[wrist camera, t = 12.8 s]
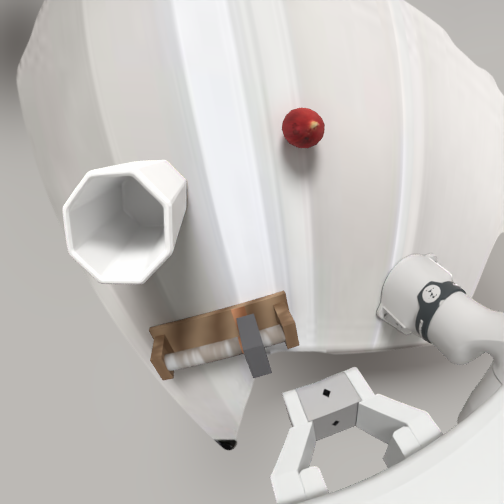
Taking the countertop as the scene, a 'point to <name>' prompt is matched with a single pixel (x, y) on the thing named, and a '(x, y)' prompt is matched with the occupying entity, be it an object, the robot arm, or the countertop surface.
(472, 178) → the countertop surface
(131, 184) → the cup
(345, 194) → the countertop surface
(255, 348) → the collar
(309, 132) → the onion
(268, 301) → the pipe rack
